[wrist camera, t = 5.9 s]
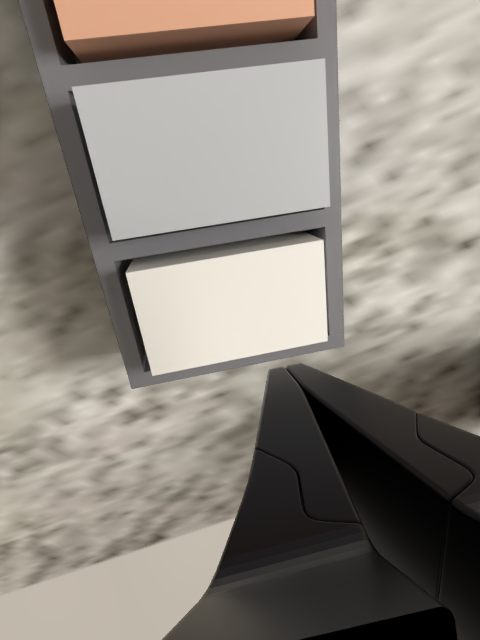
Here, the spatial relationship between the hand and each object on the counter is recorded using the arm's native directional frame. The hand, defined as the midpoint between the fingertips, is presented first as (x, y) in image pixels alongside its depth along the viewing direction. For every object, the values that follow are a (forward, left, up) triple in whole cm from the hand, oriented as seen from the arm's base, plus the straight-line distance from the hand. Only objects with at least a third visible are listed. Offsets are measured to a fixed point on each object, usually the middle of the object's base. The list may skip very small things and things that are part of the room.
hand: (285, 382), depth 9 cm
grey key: (+6, 0, -8) cm, 10 cm away
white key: (0, 0, -9) cm, 9 cm away
